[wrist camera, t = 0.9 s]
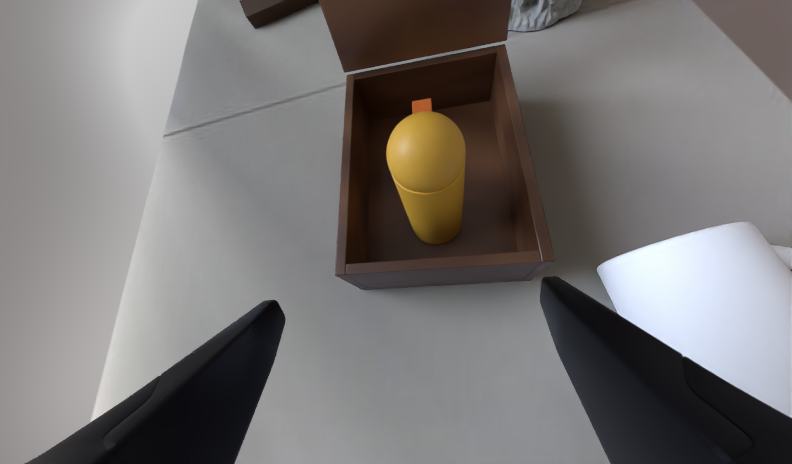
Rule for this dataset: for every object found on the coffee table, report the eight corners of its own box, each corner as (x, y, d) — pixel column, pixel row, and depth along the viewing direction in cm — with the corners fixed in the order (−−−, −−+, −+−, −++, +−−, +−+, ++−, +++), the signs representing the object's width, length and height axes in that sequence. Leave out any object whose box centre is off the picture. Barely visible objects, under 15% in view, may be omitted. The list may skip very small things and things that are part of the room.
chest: (530, 280, 23) (555, 261, 17) (361, 289, 26) (334, 275, 20) (495, 99, 30) (505, 43, 24) (365, 121, 33) (346, 74, 27)
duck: (464, 242, 25) (472, 158, 13) (412, 246, 25) (377, 170, 14) (457, 182, 27) (459, 64, 15) (410, 187, 28) (377, 80, 16)
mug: (643, 417, 19) (763, 468, 11) (577, 275, 23) (635, 244, 15) (846, 382, 17) (1127, 413, 10) (739, 237, 21) (887, 184, 14)
